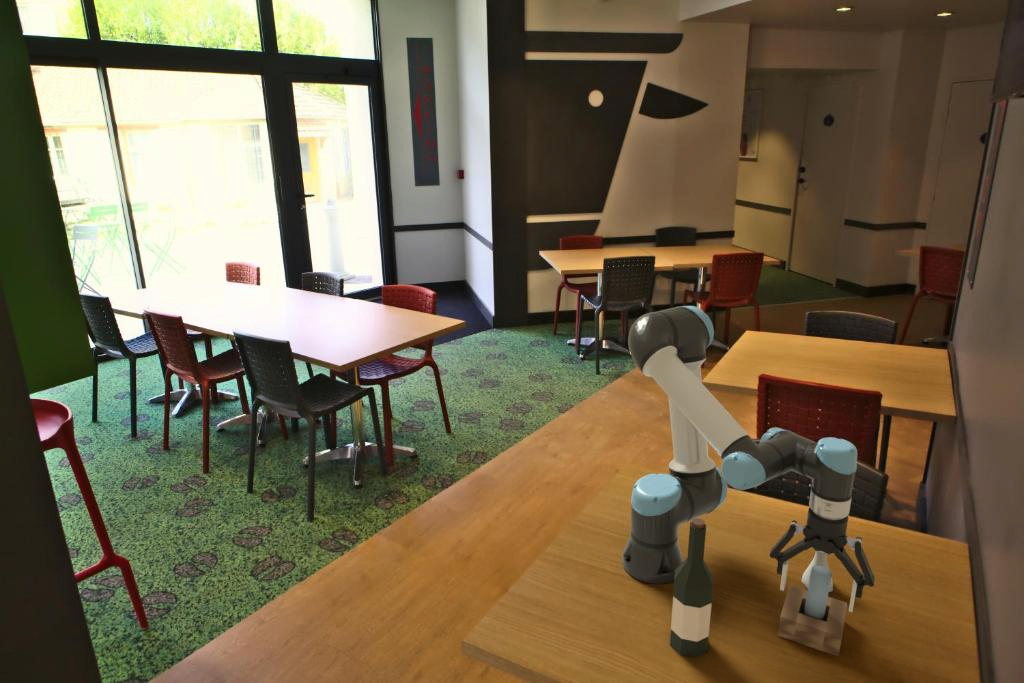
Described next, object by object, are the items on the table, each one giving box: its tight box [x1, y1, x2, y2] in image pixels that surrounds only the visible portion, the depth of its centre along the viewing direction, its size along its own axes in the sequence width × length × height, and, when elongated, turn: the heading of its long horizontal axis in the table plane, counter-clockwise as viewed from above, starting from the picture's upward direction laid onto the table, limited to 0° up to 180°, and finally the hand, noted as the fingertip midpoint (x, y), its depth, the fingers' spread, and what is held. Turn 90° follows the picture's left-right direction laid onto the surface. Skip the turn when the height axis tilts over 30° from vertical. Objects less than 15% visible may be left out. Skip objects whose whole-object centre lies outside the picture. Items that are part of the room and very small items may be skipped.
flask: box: [800, 550, 834, 593], centre depth 156 cm, size 7×7×10 cm
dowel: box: [804, 566, 833, 621], centre depth 140 cm, size 4×4×14 cm
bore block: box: [777, 585, 848, 657], centre depth 142 cm, size 12×12×5 cm
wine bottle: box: [669, 517, 714, 659], centre depth 135 cm, size 8×8×30 cm
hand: (816, 597), depth 140 cm, fingers open, 13 cm apart
